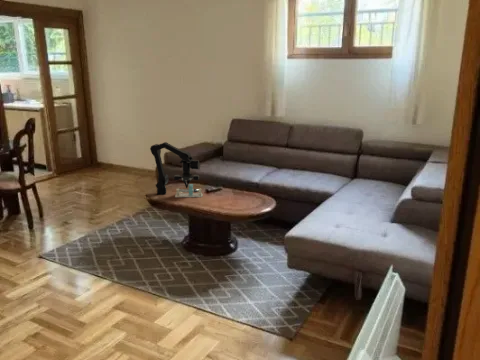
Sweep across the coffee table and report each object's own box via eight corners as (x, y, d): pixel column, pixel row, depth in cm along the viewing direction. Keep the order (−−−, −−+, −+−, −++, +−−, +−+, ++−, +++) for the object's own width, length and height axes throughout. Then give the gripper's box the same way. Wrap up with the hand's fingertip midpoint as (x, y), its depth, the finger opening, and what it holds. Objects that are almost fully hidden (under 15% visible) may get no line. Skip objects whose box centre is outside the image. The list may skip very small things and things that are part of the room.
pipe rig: (175, 197, 319) (174, 190, 317) (175, 194, 326) (175, 187, 325) (202, 197, 320) (202, 190, 319) (202, 194, 328) (202, 187, 326)
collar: (188, 194, 320) (188, 186, 319) (189, 192, 325) (188, 184, 323) (192, 194, 321) (192, 186, 319) (192, 192, 325) (192, 184, 324)
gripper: (173, 171, 309) (173, 191, 313) (198, 171, 310) (198, 191, 314) (174, 167, 320) (175, 187, 324) (198, 167, 321) (199, 187, 325)
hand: (186, 188), depth 321 cm, fingers closed
